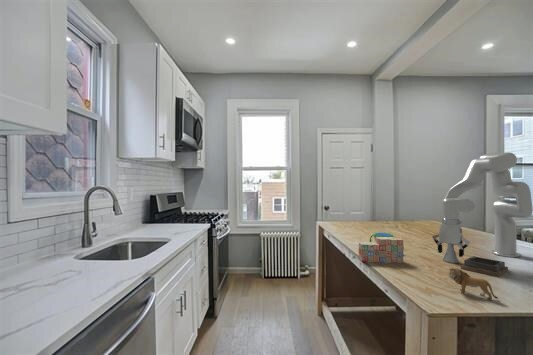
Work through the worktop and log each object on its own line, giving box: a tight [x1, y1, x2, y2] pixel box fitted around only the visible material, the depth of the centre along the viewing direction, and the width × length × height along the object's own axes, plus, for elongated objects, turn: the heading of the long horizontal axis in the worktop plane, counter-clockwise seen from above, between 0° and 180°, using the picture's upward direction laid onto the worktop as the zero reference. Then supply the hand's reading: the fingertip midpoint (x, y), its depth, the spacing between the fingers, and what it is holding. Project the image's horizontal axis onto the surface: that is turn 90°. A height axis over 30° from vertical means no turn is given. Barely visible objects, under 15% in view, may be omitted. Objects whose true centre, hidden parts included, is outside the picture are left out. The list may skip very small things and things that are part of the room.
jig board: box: [460, 255, 509, 278], centre depth 132 cm, size 16×14×4 cm
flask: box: [442, 243, 460, 264], centre depth 145 cm, size 7×7×10 cm
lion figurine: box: [448, 267, 499, 301], centre depth 103 cm, size 15×5×9 cm, turn 51°
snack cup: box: [369, 232, 397, 242], centre depth 167 cm, size 16×11×10 cm
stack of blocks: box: [358, 236, 405, 264], centre depth 146 cm, size 21×6×12 cm, turn 85°
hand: (450, 254), depth 145 cm, fingers open, 9 cm apart
